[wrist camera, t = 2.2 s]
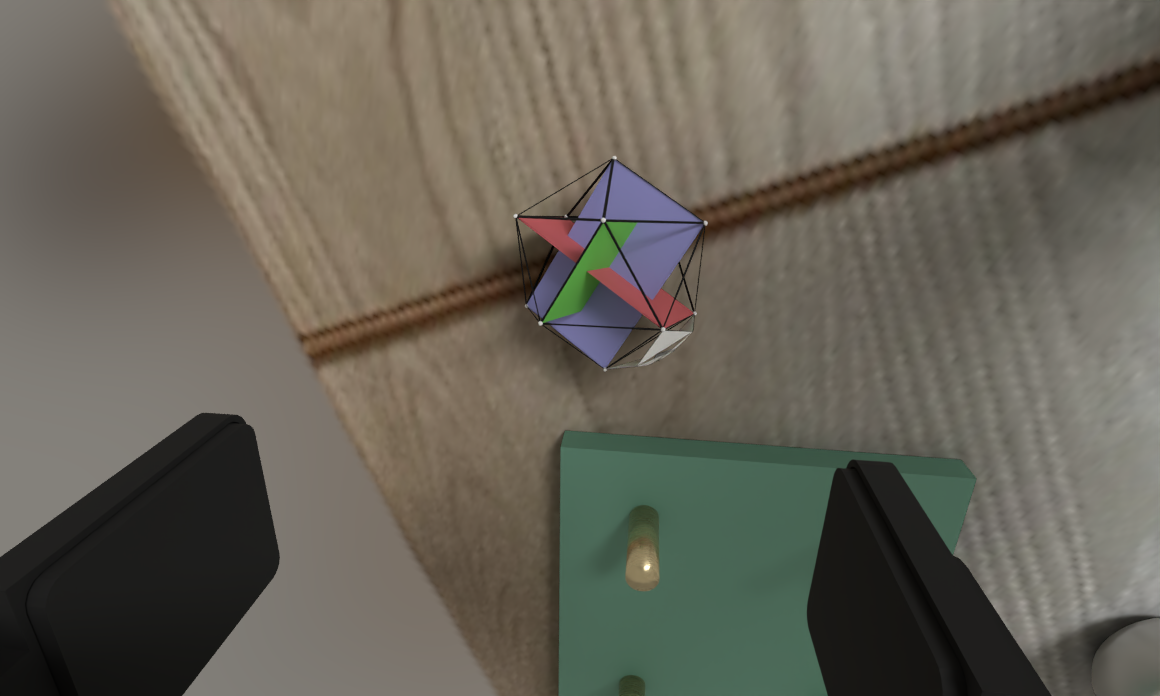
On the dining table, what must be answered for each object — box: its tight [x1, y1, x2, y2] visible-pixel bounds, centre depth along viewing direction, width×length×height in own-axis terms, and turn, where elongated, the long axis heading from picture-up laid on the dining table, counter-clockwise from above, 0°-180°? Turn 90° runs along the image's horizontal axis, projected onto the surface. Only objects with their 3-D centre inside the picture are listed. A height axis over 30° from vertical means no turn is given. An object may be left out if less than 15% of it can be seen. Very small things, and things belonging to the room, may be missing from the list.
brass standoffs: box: [619, 505, 659, 696], centre depth 30 cm, size 11×12×4 cm
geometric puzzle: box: [513, 156, 708, 371], centre depth 24 cm, size 7×7×8 cm
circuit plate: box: [559, 431, 976, 696], centre depth 32 cm, size 18×18×2 cm
